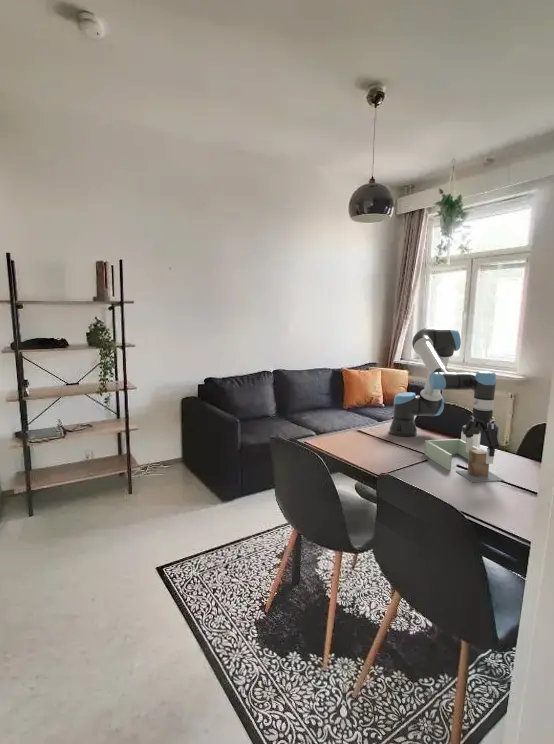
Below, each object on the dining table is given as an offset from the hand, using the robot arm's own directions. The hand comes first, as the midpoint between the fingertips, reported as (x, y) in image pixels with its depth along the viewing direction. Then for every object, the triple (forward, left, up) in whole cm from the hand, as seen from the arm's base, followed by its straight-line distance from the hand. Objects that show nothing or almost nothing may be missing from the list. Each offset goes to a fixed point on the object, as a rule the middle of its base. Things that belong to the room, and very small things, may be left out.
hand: (478, 457), depth 172 cm
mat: (+1, 0, -8) cm, 8 cm away
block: (0, 0, -7) cm, 7 cm away
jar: (-31, +17, -8) cm, 36 cm away
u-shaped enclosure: (-17, 0, -8) cm, 19 cm away
